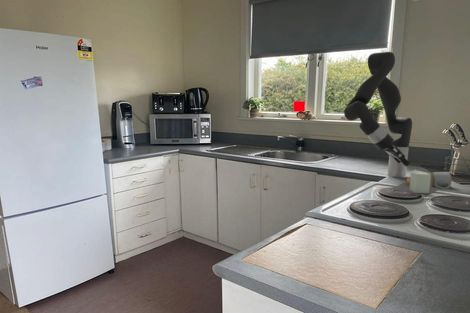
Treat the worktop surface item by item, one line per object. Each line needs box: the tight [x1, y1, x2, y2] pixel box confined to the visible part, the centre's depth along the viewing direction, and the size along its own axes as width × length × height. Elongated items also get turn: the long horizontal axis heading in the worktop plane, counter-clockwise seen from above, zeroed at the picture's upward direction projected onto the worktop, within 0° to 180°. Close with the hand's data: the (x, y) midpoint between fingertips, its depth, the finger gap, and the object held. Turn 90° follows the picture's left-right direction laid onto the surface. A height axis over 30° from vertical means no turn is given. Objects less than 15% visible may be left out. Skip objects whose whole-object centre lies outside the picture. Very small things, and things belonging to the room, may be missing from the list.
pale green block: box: [409, 170, 431, 194], centre depth 149 cm, size 6×6×8 cm
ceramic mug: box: [429, 171, 452, 190], centre depth 160 cm, size 11×8×8 cm
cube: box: [405, 176, 411, 187], centre depth 160 cm, size 4×4×4 cm
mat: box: [389, 182, 441, 197], centre depth 155 cm, size 20×16×1 cm
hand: (403, 163), depth 149 cm, fingers open, 8 cm apart
